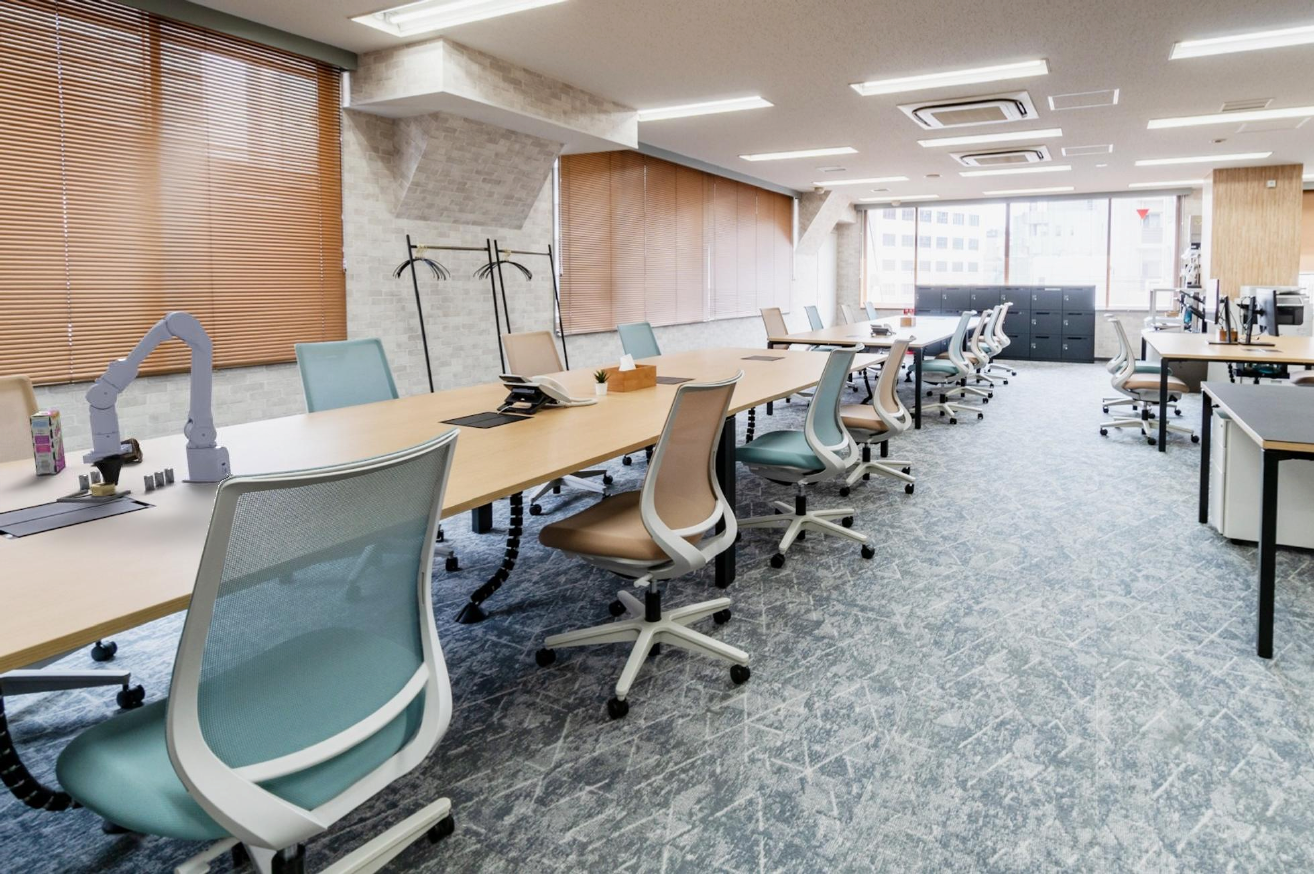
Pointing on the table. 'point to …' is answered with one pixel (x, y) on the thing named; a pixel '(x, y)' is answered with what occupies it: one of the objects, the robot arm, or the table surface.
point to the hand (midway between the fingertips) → (112, 485)
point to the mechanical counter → (135, 452)
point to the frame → (71, 499)
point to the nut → (103, 489)
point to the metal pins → (147, 479)
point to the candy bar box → (47, 442)
